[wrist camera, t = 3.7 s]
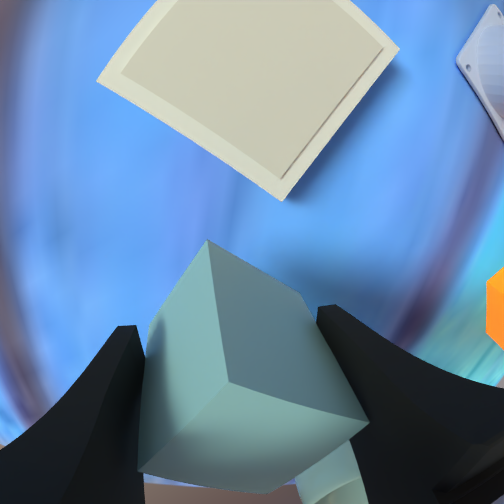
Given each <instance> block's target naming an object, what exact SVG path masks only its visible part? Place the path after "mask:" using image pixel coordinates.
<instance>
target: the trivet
mask: <svg viewBox="0 0 504 504" xmlns="http://www.w3.org/2000/svg"><path fill="white" fill-rule="evenodd" d="M399 50H400V49H399V48H398V47H397V46H396V44H395V43H394V42H393V41H392V40H391V39H390V38H389V37H388V36H387V35H386V34H385V33H384V32H383V31H382V30H381V29H380V28H379V27H378V26H377V25H376V24H375V23H374V22H373V21H372V20H371V19H370V18H369V17H368V16H367V15H365V14H364V13H363V12H362V11H361V10H360V9H359V8H358V7H357V6H356V5H354V4H353V3H352V2H351V1H350V0H157V1H156V2H155V4H154V5H153V6H152V7H151V8H150V9H149V11H148V12H147V13H146V14H145V15H144V16H143V18H142V19H141V20H140V21H139V23H138V24H137V25H136V26H135V28H134V29H133V30H132V31H131V33H130V34H129V35H128V37H127V38H126V39H125V41H124V42H123V43H122V45H121V46H120V47H119V49H118V50H117V51H116V53H115V54H114V56H113V57H112V58H111V60H110V61H109V63H108V64H107V66H106V67H105V69H104V70H103V72H102V73H101V75H100V76H99V78H98V79H97V82H98V83H100V84H102V85H103V86H105V87H107V88H108V89H110V90H112V91H114V92H115V93H117V94H119V95H120V96H122V97H124V98H125V99H127V100H129V101H130V102H132V103H133V104H135V105H137V106H138V107H140V108H142V109H143V110H145V111H147V112H148V113H150V114H151V115H153V116H155V117H156V118H158V119H159V120H161V121H163V122H164V123H166V124H167V125H169V126H170V127H172V128H174V129H175V130H177V131H178V132H180V133H181V134H183V135H184V136H186V137H187V138H189V139H191V140H192V141H194V142H195V143H197V144H198V145H200V146H201V147H203V148H204V149H206V150H207V151H209V152H210V153H212V154H213V155H215V156H216V157H218V158H219V159H221V160H222V161H224V162H225V163H227V164H228V165H230V166H231V167H232V168H234V169H235V170H237V171H238V172H240V173H241V174H243V175H244V176H246V177H247V178H248V179H250V180H251V181H253V182H254V183H256V184H257V185H258V186H260V187H261V188H263V189H264V190H266V191H267V192H268V193H270V194H271V195H273V196H274V197H275V198H277V199H278V200H280V201H281V202H282V201H283V200H284V199H285V197H286V196H287V195H288V193H289V192H290V191H291V189H292V188H293V187H294V186H295V184H296V183H297V182H298V180H299V179H300V178H301V176H302V175H303V174H304V172H305V171H306V170H307V169H308V167H309V166H310V165H311V163H312V162H313V161H314V159H315V158H316V157H317V156H318V154H319V153H320V152H321V150H322V149H323V148H324V146H325V145H326V144H327V143H328V141H329V140H330V139H331V137H332V136H333V135H334V134H335V132H336V131H337V130H338V128H339V127H340V126H341V124H342V123H343V122H344V121H345V119H346V118H347V117H348V115H349V114H350V113H351V112H352V110H353V109H354V108H355V106H356V105H357V104H358V103H359V101H360V100H361V99H362V97H363V96H364V95H365V94H366V92H367V91H368V90H369V88H370V87H371V86H372V85H373V83H374V82H375V81H376V79H377V78H378V77H379V76H380V74H381V73H382V72H383V70H384V69H385V68H386V67H387V65H388V64H389V63H390V61H391V60H392V59H393V58H394V56H395V55H396V54H397V52H398V51H399Z"/></svg>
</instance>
